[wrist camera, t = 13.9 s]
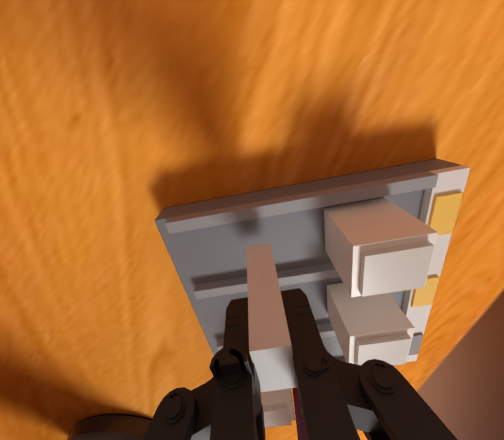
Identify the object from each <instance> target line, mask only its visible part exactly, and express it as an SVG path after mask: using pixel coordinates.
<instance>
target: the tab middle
mask: <svg viewBox="0 0 504 440" xmlns="http://www.w3.org/2000/svg"><path fill="white" fill-rule="evenodd" d="M327 314H328V317H329V319H330V322H331V324H332V327H333V329H334V332H335V334H336V337H337V339H338V342H339V345H340V347H341V350H342V352H343V355H344V357H345V360H346V362H347V363H352V364H357V365H362V364H363V363H364V362H366V361H367V360H372V359H377V360H383V361H385V362H387V363H389V364H391V365H400V364H406V360H407V358H408V354H409V350H410V346H411V342H412V338H413V334H414V330H415V327H414V326H413V324H412V323H411V322H410V321H409V319H408V318H407V317H406V315H405V314H404V313H403V311H402V310H401V309H400V307H399V306H398V305H397V304H396V302H395V301H394V300H393V298H392V297H391V296H390V294H389V293H384V294H377V295H371V296H364V297H362V296H357V297H351V296H350V294H349V292H348V291H347V289H346V287H345V285H344V283H337V284H331V285H327Z"/></svg>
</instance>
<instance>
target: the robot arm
mask: <svg viewBox="0 0 504 440" xmlns="http://www.w3.org/2000/svg"><path fill="white" fill-rule="evenodd" d="M247 285H248V297H245V298H239V299H233V300H231V301H230V303H229V305H228V306H227V308H226V318H225V319H226V320H225V330H224V342H223V348H222V349H221V350H219V351H218V352H217V353H216V354H215V355H214V357H213V358H212V360H211V364H210V369H211V371H212V374H213V376H214V377H213V378H212V379H211V380H209V381H208V382H206V383H205V384H203V385H201V386H199V387H197V388H195V389H194V390H192V391H190V390H189V389H186V388H184V387H183V388H176V389H174V390H172V391H171V392H169V393H168V394H167V395H166V396H165V397H164V398H163V399H162V401H161V403H160V404H159V406H158V408H157V410H156V412H155V414H154V416H153V418H152V421H150V420H147V419H143V418H139V417H133V416H125V415H103V416H96V417H91V418H88V419H85V420H83V421H81V422H79V423H77V424H76V425H75V426H74V428H73V429H72V431H71V433H70V435H69V437H68V439H67V440H266V439H265V425H264V411H263V407H262V403H261V392H267V391H274V390H281V389H288V388H296V387H297V388H298V393H299V398H300V404H301V410H302V415H303V420H304V425H305V430H306V435H307V440H359V437H358V435H357V432H356V429H358V430H361V431H363V432H364V434H365V436H366V437H367V439H368V440H457V439H456V437H455V436H454V435H453V434H452V433H451V432H450V430H449V429H448V428H447V427H446V426H445V425H444V423H443V422H442V421H441V420H440V419H439V418H438V416H437V415H436V414H435V413H434V412H433V411H432V409H431V408H430V407H429V406H428V405H427V403H426V402H425V401H424V400H423V399H422V398H421V397H420V395H419V394H418V393H417V392H416V391H415V389H414V388H413V387H412V386H411V385H410V384H409V382H408V381H407V380H406V379H405V378H404V377H403V375H402V374H401V373H400V372H399V371H398V370H397V369H396V368H395V367H394V366H392V365H391V364H389V363H387V362H385V361H383V360H377V359H372V360H367V361H366V362H364V363H363V364H362V365H357V364H352V363H347V362H343V361H340V360H338V359H336V358H335V357H333V356H332V355H331V354H330V353H329V352H328V351H327V350H326V348H325V346H324V344H323V342H322V339H321V336H320V333H319V330H318V327H317V324H316V321H315V319H314V316H313V313H312V310H311V307H310V304H309V301H308V298H307V295H306V294H305V293H304V292H303V291H302V290H301V289H300V288H297V289H291V290H285V291H280V287H279V282H278V277H277V272H276V267H275V262H274V257H273V253H272V248H271V243H266V244H260V245H254V246H248V247H247ZM260 389H261V390H260Z"/></svg>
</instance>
